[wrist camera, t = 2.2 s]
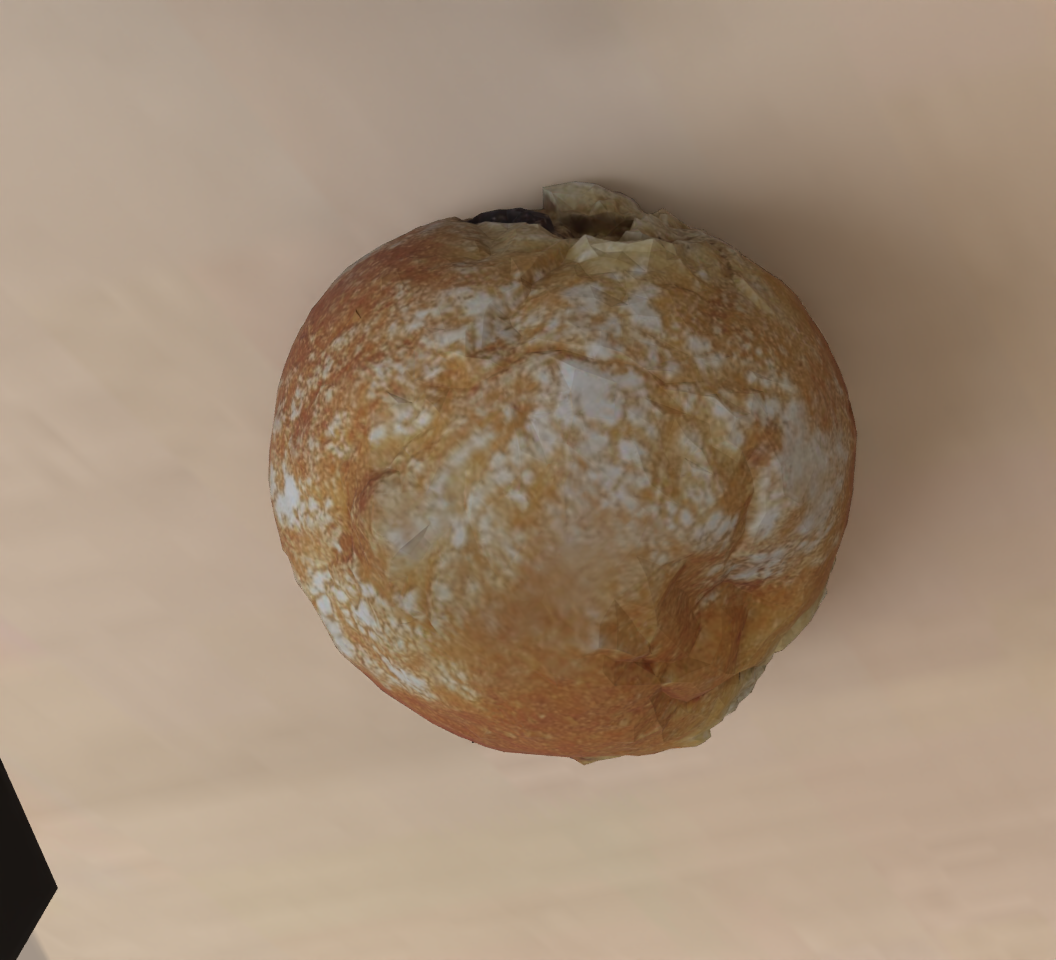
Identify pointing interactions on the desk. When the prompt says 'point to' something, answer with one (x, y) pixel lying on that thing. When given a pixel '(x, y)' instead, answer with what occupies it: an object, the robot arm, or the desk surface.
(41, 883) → the robot arm
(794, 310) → the bread roll
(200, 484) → the desk surface
